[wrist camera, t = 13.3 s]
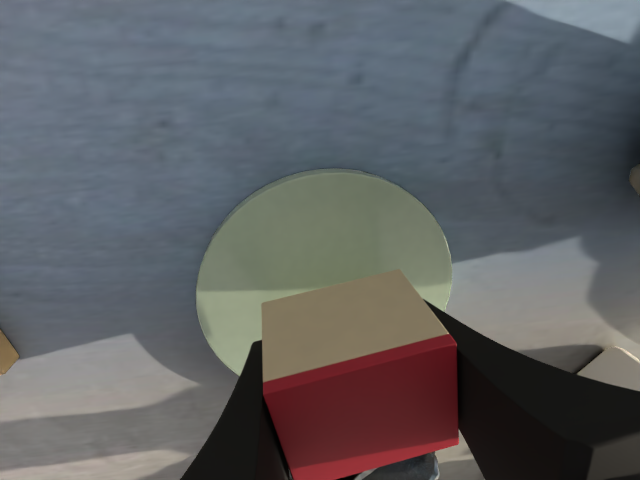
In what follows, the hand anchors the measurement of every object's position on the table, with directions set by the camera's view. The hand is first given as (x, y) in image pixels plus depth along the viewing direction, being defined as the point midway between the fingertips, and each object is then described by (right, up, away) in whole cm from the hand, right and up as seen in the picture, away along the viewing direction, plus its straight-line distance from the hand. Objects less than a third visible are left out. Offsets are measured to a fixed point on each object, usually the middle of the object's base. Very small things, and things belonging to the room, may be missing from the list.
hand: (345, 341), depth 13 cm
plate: (-1, +1, +3) cm, 3 cm away
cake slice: (0, 0, +1) cm, 1 cm away
